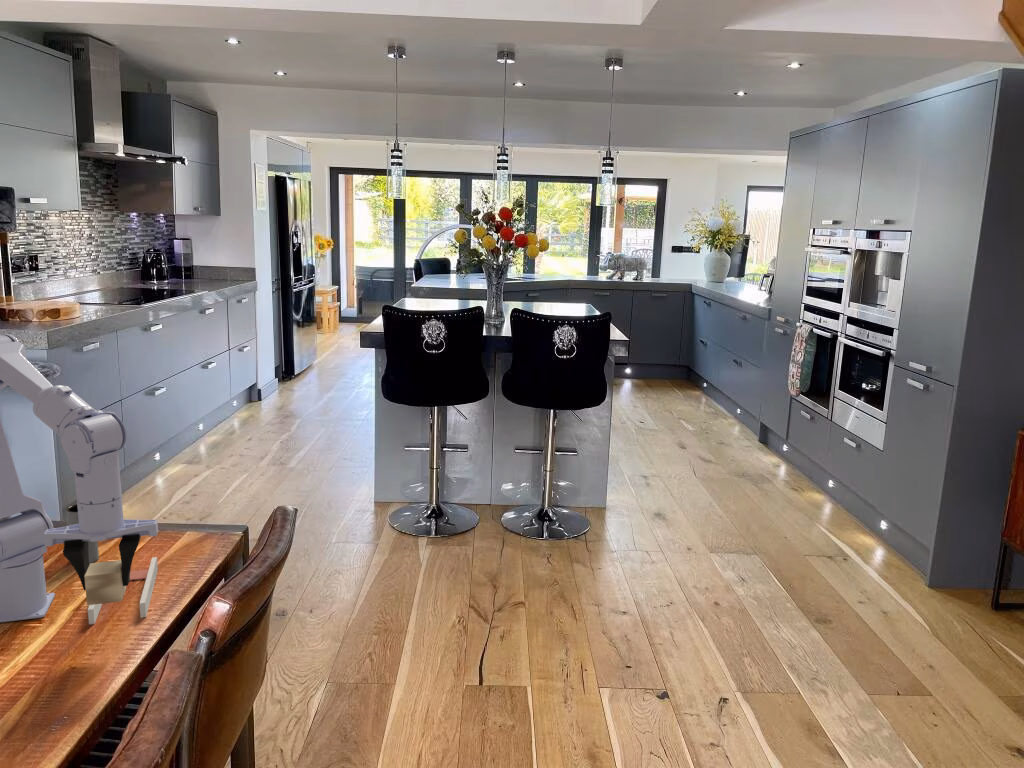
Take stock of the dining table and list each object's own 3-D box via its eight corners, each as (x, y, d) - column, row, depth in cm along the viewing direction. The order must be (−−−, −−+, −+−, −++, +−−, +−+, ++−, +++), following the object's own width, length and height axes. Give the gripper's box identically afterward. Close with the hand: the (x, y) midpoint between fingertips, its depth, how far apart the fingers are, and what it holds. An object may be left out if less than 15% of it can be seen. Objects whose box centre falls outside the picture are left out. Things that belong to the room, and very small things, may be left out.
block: (87, 605, 110) (84, 576, 109) (92, 591, 115) (90, 563, 114) (121, 601, 112) (119, 572, 111) (126, 587, 116) (124, 559, 115)
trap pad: (111, 583, 133) (111, 581, 133) (114, 574, 137) (114, 572, 136) (149, 578, 135) (149, 577, 135) (151, 570, 138) (151, 568, 138)
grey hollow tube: (90, 565, 140) (85, 512, 138) (65, 565, 140) (60, 511, 138) (104, 555, 144) (99, 503, 142) (80, 554, 144) (75, 502, 142)
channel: (88, 624, 120) (87, 609, 119) (108, 575, 136) (106, 562, 136) (146, 617, 122) (145, 602, 122) (157, 569, 139) (157, 556, 138)
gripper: (35, 512, 105) (44, 604, 107) (151, 502, 109) (157, 590, 112) (47, 495, 111) (55, 582, 114) (156, 486, 116) (162, 570, 119)
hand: (107, 585), depth 114 cm, fingers closed on block, 4 cm apart
